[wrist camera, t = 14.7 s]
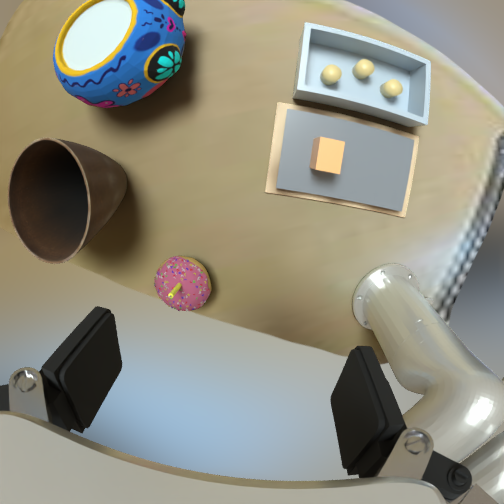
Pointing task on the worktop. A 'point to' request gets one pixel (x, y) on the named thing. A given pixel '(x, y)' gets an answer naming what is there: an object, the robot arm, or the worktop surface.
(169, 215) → the worktop surface
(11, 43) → the worktop surface
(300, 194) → the mat
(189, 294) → the cupcake
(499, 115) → the worktop surface
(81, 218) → the plant pot
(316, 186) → the lid
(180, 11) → the ceramic pot
